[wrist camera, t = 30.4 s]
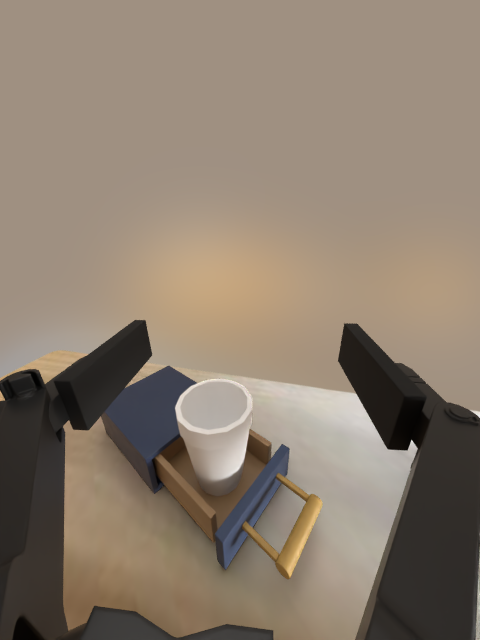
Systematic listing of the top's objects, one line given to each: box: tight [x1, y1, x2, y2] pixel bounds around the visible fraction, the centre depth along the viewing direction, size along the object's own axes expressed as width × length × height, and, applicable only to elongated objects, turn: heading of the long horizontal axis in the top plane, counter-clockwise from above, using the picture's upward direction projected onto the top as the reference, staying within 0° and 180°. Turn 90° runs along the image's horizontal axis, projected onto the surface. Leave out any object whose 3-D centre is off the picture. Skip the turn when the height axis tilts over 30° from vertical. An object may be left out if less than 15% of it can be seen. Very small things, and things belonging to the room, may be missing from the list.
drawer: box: [152, 429, 323, 579], centre depth 31 cm, size 22×13×5 cm, turn 50°
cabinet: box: [101, 366, 197, 494], centre depth 41 cm, size 17×15×7 cm
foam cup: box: [175, 378, 252, 496], centre depth 31 cm, size 10×9×13 cm
